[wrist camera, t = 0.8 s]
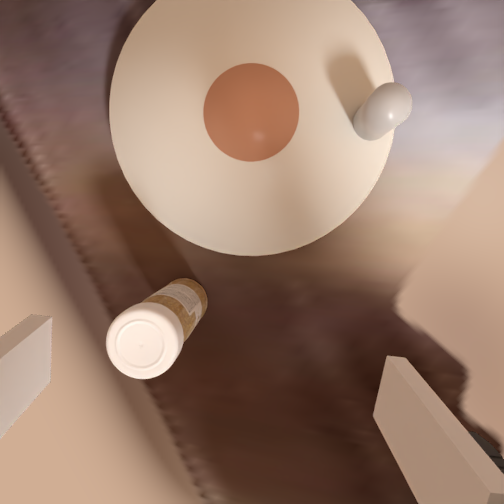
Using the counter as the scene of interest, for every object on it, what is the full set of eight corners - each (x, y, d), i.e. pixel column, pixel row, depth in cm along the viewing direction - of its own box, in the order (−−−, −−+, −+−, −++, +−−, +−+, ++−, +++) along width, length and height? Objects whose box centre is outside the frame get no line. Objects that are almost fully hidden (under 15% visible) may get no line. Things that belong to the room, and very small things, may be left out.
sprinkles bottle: (186, 333, 37) (143, 396, 24) (151, 301, 37) (87, 347, 24) (218, 298, 37) (193, 343, 24) (183, 266, 37) (136, 292, 23)
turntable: (371, 264, 36) (399, 275, 28) (112, 242, 36) (74, 247, 29) (401, -11, 34) (440, -76, 26) (127, -30, 34) (89, -99, 27)
